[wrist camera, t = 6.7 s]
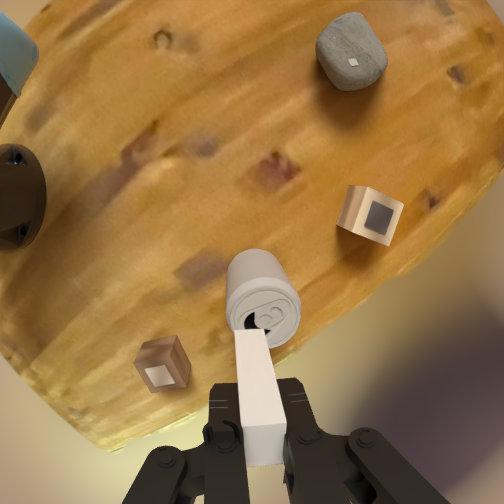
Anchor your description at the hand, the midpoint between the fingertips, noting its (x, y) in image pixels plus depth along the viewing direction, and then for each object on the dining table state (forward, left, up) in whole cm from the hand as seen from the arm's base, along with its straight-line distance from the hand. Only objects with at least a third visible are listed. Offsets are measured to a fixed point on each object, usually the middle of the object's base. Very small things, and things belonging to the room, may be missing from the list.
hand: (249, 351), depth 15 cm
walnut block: (-10, -13, -20) cm, 26 cm away
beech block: (+15, +5, -20) cm, 25 cm away
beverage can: (+2, -2, -20) cm, 20 cm away
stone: (+14, +24, -20) cm, 35 cm away
